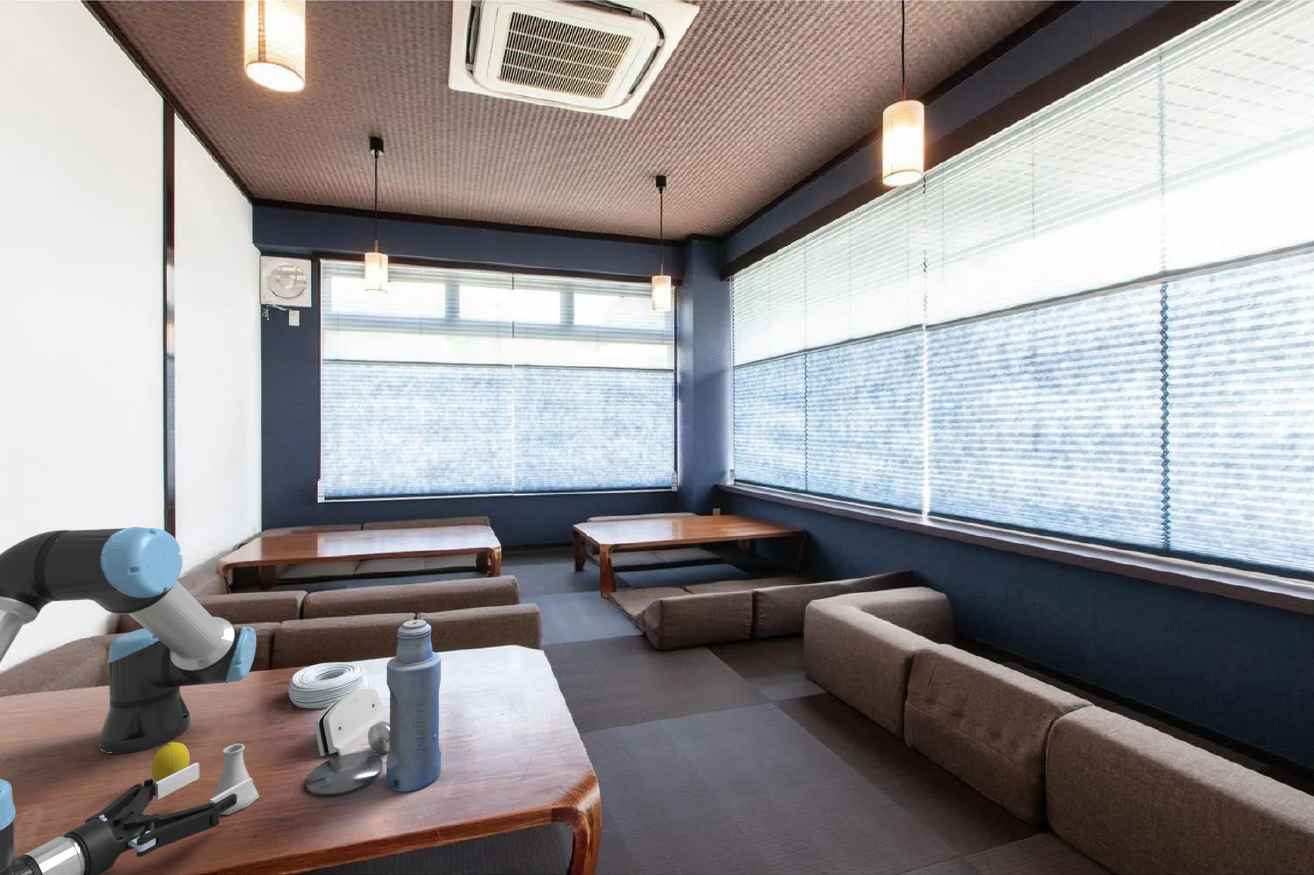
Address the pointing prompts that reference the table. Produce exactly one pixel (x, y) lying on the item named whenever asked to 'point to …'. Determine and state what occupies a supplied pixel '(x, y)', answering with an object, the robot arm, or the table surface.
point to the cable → (326, 684)
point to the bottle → (414, 710)
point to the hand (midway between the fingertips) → (224, 777)
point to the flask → (234, 776)
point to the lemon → (170, 760)
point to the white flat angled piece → (349, 721)
